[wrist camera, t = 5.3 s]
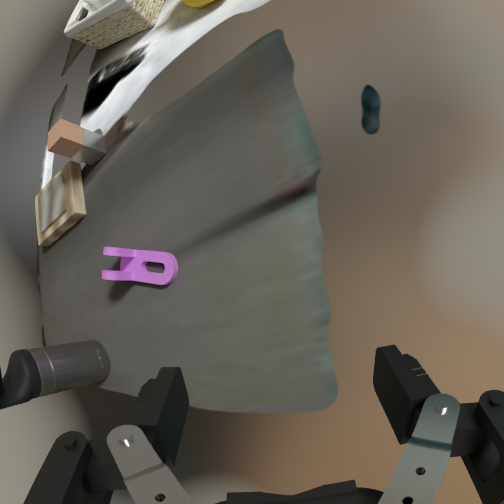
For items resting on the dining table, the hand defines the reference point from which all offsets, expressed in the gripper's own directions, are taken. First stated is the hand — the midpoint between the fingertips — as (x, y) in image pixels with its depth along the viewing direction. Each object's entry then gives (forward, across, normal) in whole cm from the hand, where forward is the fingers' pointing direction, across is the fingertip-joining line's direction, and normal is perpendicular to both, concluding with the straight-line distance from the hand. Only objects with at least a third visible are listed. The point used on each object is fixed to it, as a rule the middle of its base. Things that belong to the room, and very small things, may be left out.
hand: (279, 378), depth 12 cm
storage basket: (+71, +29, -55) cm, 94 cm away
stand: (+59, +48, -6) cm, 77 cm away
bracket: (+43, +20, +7) cm, 48 cm away
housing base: (+58, +35, -17) cm, 70 cm away
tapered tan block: (+53, +37, -19) cm, 67 cm away
